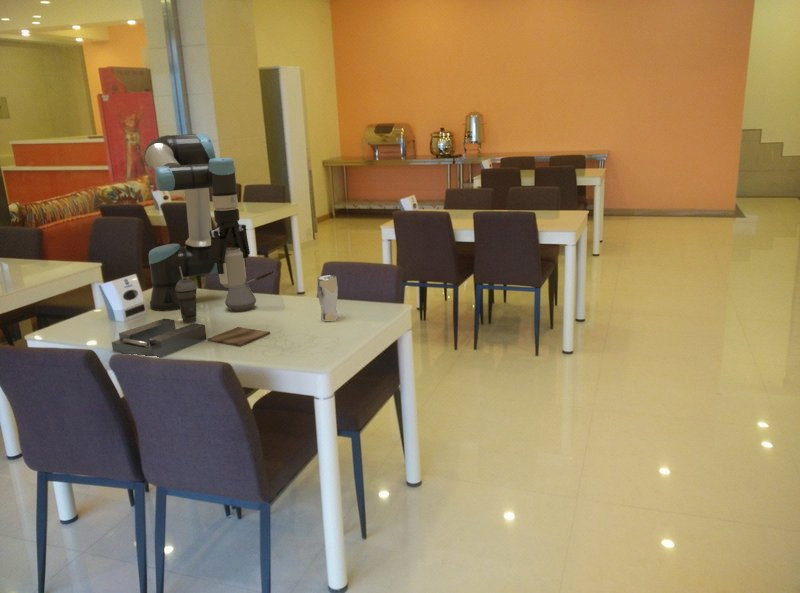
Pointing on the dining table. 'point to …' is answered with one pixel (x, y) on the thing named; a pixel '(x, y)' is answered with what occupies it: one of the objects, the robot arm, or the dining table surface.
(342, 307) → the dining table surface
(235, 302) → the coffee pot
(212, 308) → the dining table surface
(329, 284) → the beer glass
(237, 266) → the can
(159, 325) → the grey stepped tray
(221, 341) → the walnut board
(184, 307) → the beverage cup
